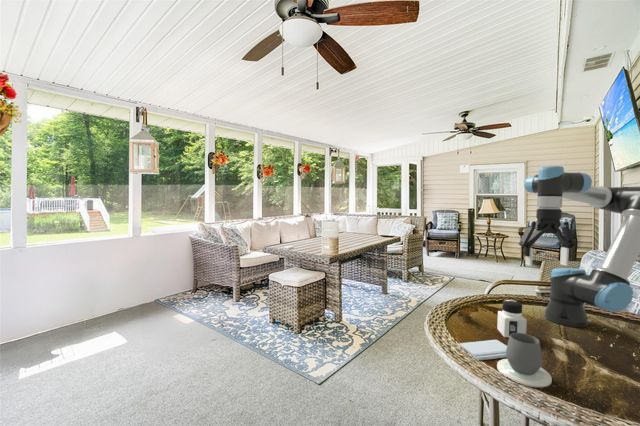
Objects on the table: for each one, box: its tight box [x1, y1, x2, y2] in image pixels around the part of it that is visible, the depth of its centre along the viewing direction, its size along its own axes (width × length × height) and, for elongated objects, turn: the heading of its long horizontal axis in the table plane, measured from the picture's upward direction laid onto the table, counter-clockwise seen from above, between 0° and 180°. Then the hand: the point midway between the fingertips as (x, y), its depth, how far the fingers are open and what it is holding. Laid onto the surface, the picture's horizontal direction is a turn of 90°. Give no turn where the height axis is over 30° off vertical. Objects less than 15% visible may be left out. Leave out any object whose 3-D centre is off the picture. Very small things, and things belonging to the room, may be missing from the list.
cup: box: [505, 333, 544, 375], centre depth 95 cm, size 10×9×10 cm
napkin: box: [458, 339, 507, 361], centre depth 109 cm, size 16×10×1 cm, turn 102°
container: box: [496, 299, 528, 339], centre depth 122 cm, size 8×8×13 cm
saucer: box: [496, 358, 553, 388], centre depth 95 cm, size 14×14×1 cm
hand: (546, 265), depth 116 cm, fingers open, 13 cm apart
